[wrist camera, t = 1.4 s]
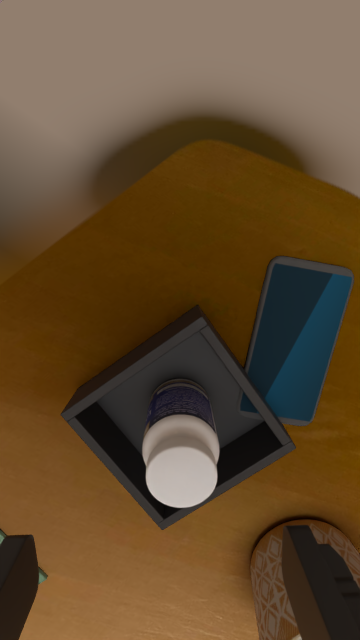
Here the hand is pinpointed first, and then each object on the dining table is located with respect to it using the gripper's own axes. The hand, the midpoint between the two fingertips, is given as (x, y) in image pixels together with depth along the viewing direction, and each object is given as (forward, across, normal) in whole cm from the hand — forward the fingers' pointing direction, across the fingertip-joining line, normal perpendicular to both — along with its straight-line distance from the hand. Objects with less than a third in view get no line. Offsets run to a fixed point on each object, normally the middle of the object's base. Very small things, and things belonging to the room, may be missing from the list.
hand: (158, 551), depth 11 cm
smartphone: (+21, -11, 0) cm, 24 cm away
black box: (+20, -1, +5) cm, 21 cm away
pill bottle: (+20, -1, +5) cm, 21 cm away
